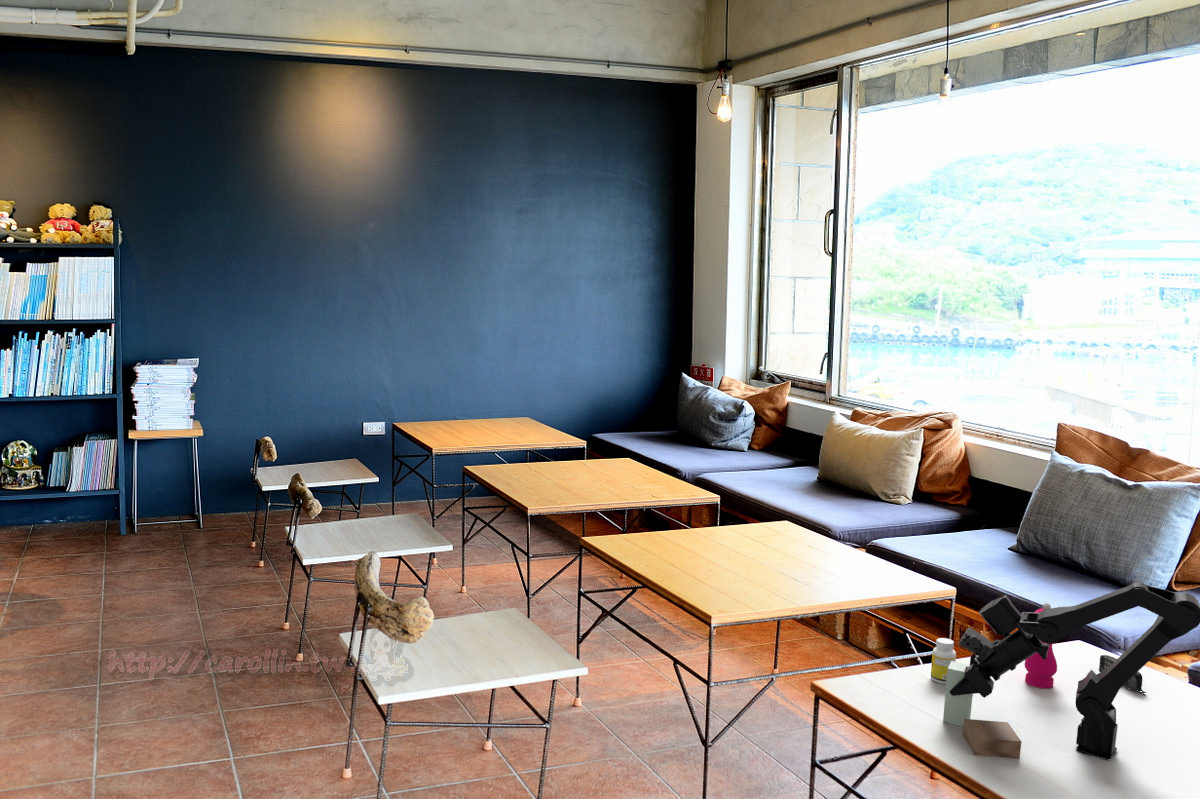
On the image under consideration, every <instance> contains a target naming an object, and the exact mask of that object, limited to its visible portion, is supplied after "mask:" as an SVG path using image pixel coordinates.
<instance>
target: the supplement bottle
mask: <svg viewBox="0 0 1200 799" xmlns="http://www.w3.org/2000/svg"><path fill="white" fill-rule="evenodd" d="M935 641H936V642H935V647H934V648H933V650H932V654H931V655H932V656H931V668H930V679H931V680H932V682H936V683H938V684H944V685H946V682H947V671H948V667H949V665H950V663H951V661H953V662H957V653H956V652H957V651H955V649H954V647H955V645H954V644H955V642H954V640H952V639H950V638H946V637H939V638H937V639H936V640H935Z"/></svg>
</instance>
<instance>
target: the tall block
mask: <svg viewBox="0 0 1200 799" xmlns="http://www.w3.org/2000/svg"><path fill="white" fill-rule="evenodd" d="M966 666H967V667H969V666H970V664H967V663H964V662H963V663H962V662H957V661H956V662H953V661H951V663H950V665H949V667H948V671H947V682H946V684H945V692H944V693H945V694H944V706H943V715H942V716H943V718H942V721H943V722H944V721H945V723H948V722H949V724H953V725H957V724H959V725H958V726H961V725H963V724H964V719H971V716H972V703H973V695H974V694H965V695H956V696H952V695H951V694H950V692H949V691H950V690H951V689H952V688H953V687H954V686H955V685H956V684H957V683H958V682H959V681H960V680H961V679H962V678H963V677H964V676H965V674H964V671H965V668H966Z"/></svg>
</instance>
